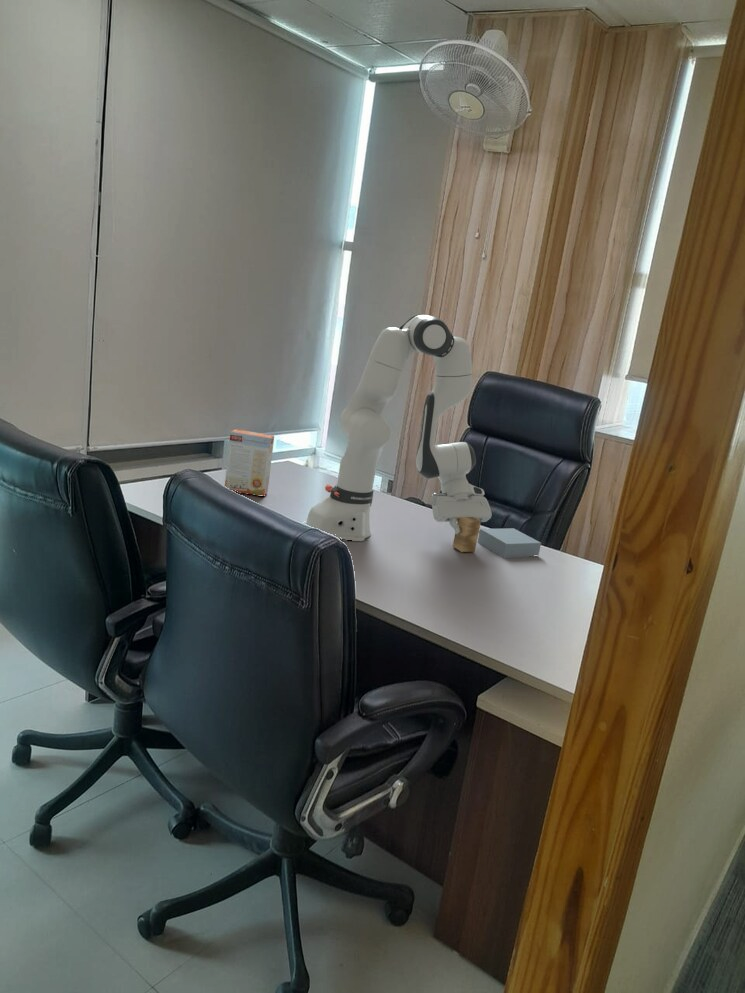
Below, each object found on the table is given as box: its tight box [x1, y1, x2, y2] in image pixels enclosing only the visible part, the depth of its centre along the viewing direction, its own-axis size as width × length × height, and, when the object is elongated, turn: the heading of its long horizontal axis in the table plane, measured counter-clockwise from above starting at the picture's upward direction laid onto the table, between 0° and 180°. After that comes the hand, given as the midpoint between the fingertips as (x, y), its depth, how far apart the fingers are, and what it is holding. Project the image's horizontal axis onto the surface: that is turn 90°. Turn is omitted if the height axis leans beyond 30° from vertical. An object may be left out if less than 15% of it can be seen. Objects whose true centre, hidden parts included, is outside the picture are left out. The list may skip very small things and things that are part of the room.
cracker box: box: [224, 428, 275, 496], centre depth 267 cm, size 14×6×21 cm, turn 84°
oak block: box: [452, 517, 482, 553], centre depth 244 cm, size 5×5×10 cm
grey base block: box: [477, 527, 542, 559], centre depth 253 cm, size 14×14×5 cm
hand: (468, 533), depth 243 cm, fingers closed on oak block, 5 cm apart
